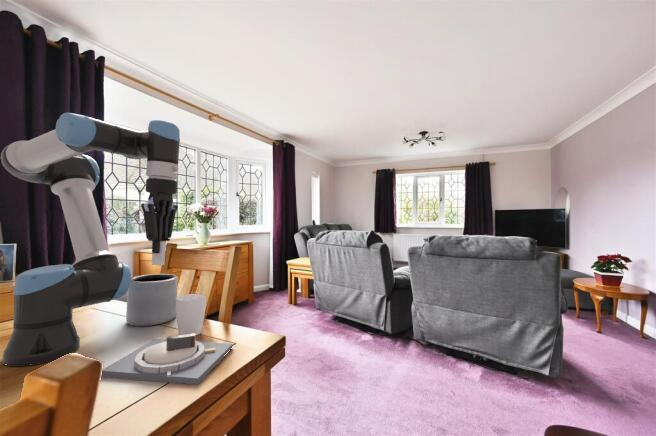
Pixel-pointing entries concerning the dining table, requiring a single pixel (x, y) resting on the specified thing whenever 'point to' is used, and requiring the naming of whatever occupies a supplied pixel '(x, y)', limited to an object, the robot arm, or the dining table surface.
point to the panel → (169, 365)
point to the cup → (190, 313)
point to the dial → (172, 350)
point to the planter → (151, 299)
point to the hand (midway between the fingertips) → (158, 264)
